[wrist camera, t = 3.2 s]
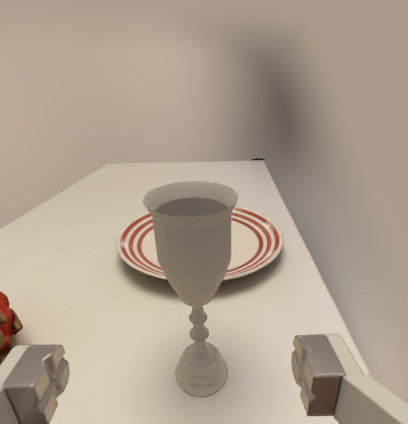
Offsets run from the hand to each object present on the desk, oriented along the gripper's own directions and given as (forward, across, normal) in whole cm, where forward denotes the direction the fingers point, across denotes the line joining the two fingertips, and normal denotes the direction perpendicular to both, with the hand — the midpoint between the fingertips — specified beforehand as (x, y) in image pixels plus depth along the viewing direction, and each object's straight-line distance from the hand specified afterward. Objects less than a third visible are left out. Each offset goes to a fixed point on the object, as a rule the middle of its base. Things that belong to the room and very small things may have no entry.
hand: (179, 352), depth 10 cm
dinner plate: (+36, 0, +17) cm, 40 cm away
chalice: (+12, 0, +17) cm, 21 cm away
